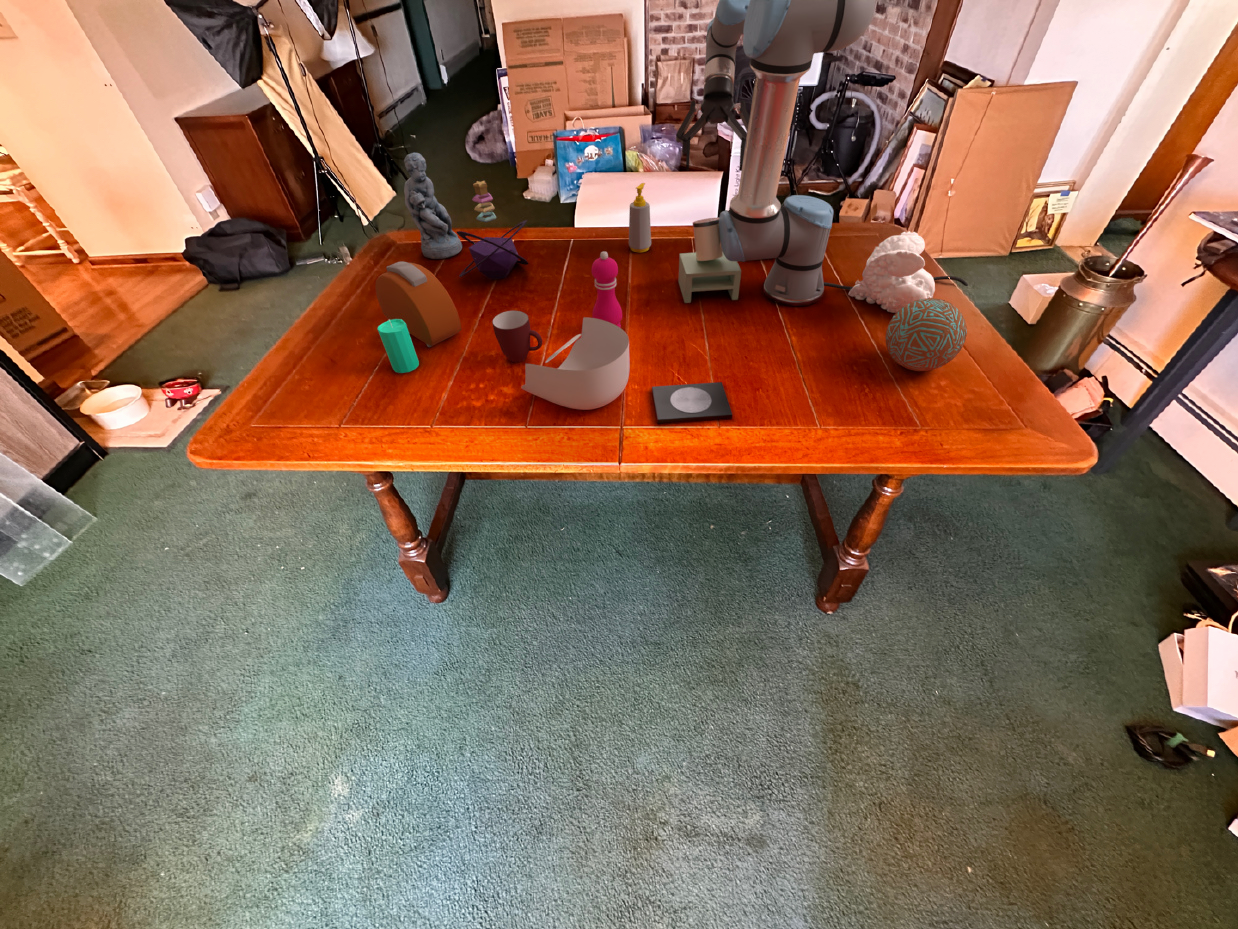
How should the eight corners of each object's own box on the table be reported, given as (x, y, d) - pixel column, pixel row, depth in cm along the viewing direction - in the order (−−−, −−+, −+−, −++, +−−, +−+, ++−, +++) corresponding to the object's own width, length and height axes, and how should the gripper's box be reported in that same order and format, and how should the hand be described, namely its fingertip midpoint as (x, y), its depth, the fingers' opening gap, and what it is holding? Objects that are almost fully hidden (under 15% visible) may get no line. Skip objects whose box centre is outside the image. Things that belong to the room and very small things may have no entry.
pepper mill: (619, 340, 134) (616, 259, 120) (590, 338, 135) (583, 257, 121) (625, 324, 139) (623, 245, 124) (597, 322, 140) (591, 243, 126)
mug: (548, 348, 132) (542, 310, 125) (542, 368, 126) (536, 329, 119) (504, 348, 133) (496, 310, 126) (497, 367, 127) (488, 329, 120)
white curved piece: (596, 431, 110) (592, 382, 102) (521, 401, 118) (511, 353, 110) (646, 378, 122) (646, 331, 114) (575, 354, 130) (570, 309, 121)
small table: (728, 278, 154) (731, 250, 148) (737, 299, 145) (741, 270, 140) (678, 281, 154) (679, 253, 148) (684, 303, 145) (686, 273, 140)
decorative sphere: (862, 356, 125) (881, 294, 115) (914, 339, 129) (937, 278, 119) (911, 392, 116) (938, 329, 105) (966, 373, 119) (997, 310, 109)
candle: (395, 375, 126) (377, 329, 118) (390, 362, 130) (372, 316, 122) (421, 368, 128) (406, 321, 120) (415, 355, 132) (400, 309, 124)
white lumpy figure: (963, 296, 125) (898, 237, 123) (889, 352, 139) (830, 301, 138) (964, 265, 137) (905, 211, 136) (896, 320, 152) (842, 272, 150)
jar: (720, 253, 146) (717, 216, 142) (725, 257, 140) (723, 218, 136) (694, 257, 147) (690, 221, 142) (698, 262, 140) (694, 224, 136)
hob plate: (721, 386, 119) (721, 381, 118) (731, 419, 111) (732, 414, 111) (651, 391, 119) (651, 386, 118) (657, 424, 111) (657, 419, 110)
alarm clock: (466, 338, 137) (449, 273, 125) (435, 353, 132) (414, 288, 120) (414, 307, 148) (394, 246, 137) (384, 321, 144) (360, 258, 132)
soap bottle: (654, 245, 171) (655, 183, 158) (646, 254, 166) (646, 191, 154) (634, 242, 173) (633, 180, 160) (625, 251, 169) (623, 188, 156)
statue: (447, 273, 171) (454, 188, 150) (381, 239, 170) (379, 150, 150) (467, 256, 179) (477, 173, 158) (403, 223, 178) (405, 136, 158)
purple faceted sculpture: (551, 268, 162) (539, 176, 145) (503, 299, 150) (484, 203, 132) (493, 253, 171) (475, 164, 154) (444, 281, 159) (418, 188, 141)
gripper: (766, 93, 144) (761, 175, 144) (669, 95, 147) (665, 175, 147) (771, 73, 136) (766, 159, 136) (669, 75, 139) (664, 159, 139)
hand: (714, 168), depth 141 cm, fingers open, 13 cm apart
